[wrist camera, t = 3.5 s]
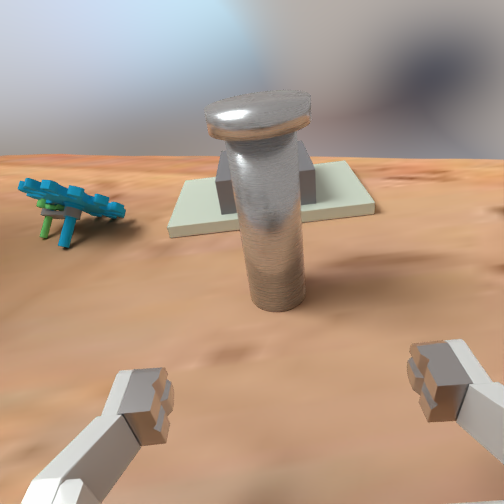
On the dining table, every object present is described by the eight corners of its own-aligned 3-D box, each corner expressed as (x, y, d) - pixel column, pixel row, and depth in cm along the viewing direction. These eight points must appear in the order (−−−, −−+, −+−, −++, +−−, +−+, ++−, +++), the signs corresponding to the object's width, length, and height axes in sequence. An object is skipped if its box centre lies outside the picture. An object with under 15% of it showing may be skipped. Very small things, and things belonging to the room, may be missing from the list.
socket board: (170, 237, 34) (157, 194, 32) (187, 189, 44) (178, 153, 42) (374, 214, 33) (377, 166, 31) (344, 169, 43) (345, 131, 41)
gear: (147, 207, 37) (55, 168, 29) (134, 260, 37) (35, 235, 28) (88, 207, 44) (-1, 174, 35) (76, 253, 43) (-19, 230, 34)
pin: (239, 324, 23) (198, 121, 16) (240, 273, 28) (209, 99, 21) (323, 315, 23) (319, 104, 16) (310, 266, 28) (302, 85, 20)
